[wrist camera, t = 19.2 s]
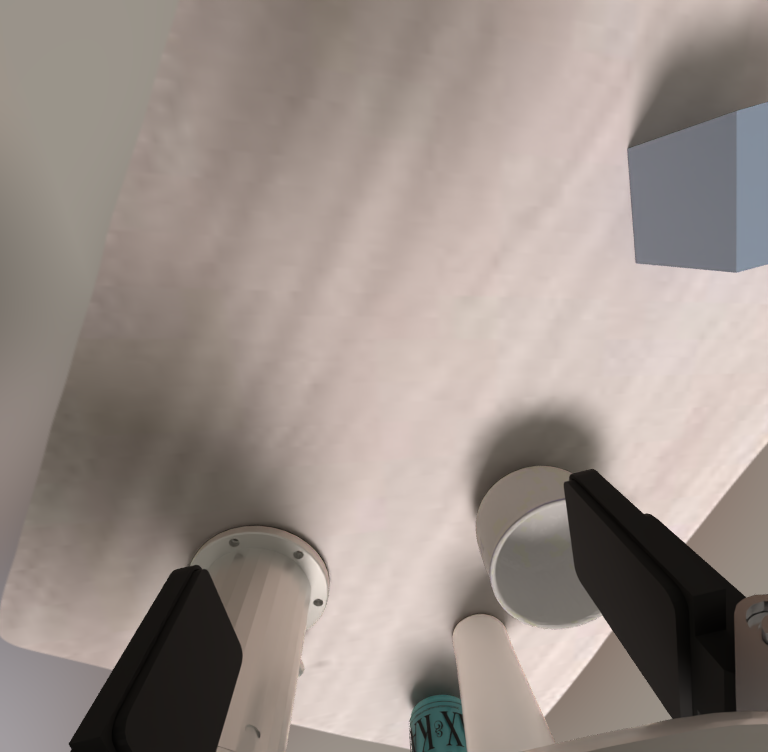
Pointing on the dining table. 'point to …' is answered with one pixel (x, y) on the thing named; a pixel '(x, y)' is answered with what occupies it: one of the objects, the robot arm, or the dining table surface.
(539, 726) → the drinking glass
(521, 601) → the teacup
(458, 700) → the beverage bottle
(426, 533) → the dining table surface
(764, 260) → the pale blue cube
